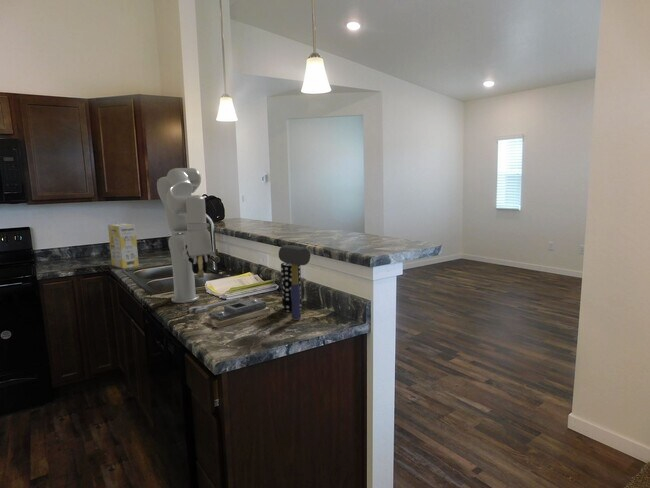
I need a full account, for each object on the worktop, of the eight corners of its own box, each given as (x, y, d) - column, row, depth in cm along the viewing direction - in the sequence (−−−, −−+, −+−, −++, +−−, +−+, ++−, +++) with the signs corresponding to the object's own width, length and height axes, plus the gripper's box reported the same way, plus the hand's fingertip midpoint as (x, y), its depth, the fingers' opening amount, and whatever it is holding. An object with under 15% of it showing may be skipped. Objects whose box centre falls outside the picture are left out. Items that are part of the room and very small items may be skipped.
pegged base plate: (209, 316, 170) (208, 308, 169) (254, 304, 185) (254, 296, 184) (220, 321, 164) (219, 312, 164) (265, 308, 179) (265, 300, 179)
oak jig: (205, 322, 170) (204, 317, 169) (256, 308, 187) (256, 303, 187) (218, 327, 163) (218, 322, 162) (270, 312, 180) (270, 308, 180)
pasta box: (138, 265, 288) (135, 224, 284) (122, 268, 281) (119, 226, 277) (127, 262, 301) (123, 223, 296) (111, 265, 293) (107, 224, 289)
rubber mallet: (279, 318, 172) (276, 245, 168) (293, 314, 178) (290, 243, 173) (299, 325, 164) (297, 248, 159) (313, 320, 169) (311, 245, 164)
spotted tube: (296, 312, 179) (295, 266, 176) (279, 310, 182) (277, 265, 179) (304, 307, 187) (303, 262, 184) (287, 305, 190) (286, 261, 187)
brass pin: (195, 277, 173) (193, 253, 171) (201, 276, 175) (200, 252, 174) (198, 278, 171) (197, 253, 169) (205, 277, 173) (203, 252, 171)
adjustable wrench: (237, 300, 202) (237, 296, 202) (245, 303, 197) (244, 299, 197) (187, 311, 185) (187, 307, 185) (194, 315, 180) (193, 310, 180)
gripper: (210, 224, 178) (213, 268, 181) (173, 228, 167) (176, 274, 170) (219, 226, 173) (222, 270, 176) (181, 229, 162) (185, 277, 164)
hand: (199, 271), depth 173 cm, fingers closed on brass pin, 3 cm apart
